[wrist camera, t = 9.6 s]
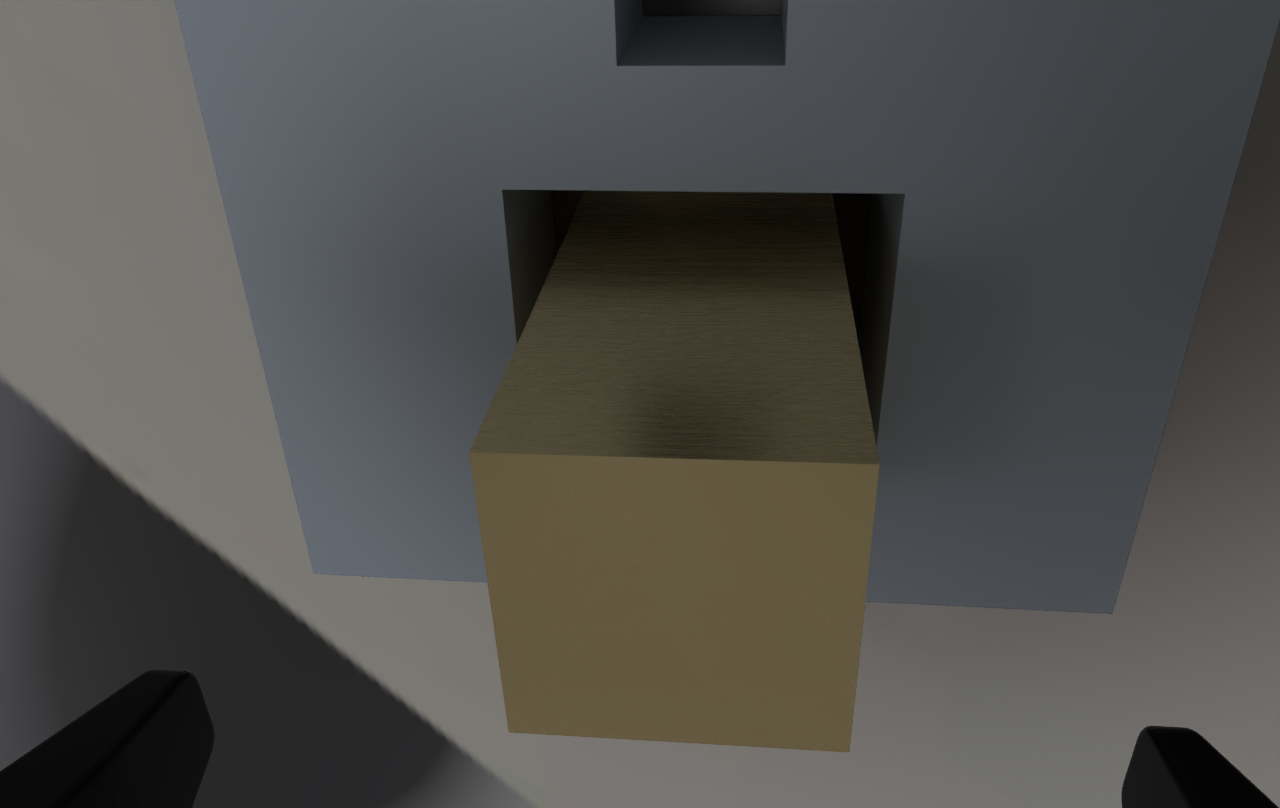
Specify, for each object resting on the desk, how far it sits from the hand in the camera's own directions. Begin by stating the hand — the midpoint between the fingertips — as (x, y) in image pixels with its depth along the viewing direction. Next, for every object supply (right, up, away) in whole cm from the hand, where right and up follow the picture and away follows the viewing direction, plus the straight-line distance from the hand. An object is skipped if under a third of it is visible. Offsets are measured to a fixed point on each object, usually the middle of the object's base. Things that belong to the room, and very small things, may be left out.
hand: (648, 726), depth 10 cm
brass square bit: (+1, +5, +9) cm, 11 cm away
